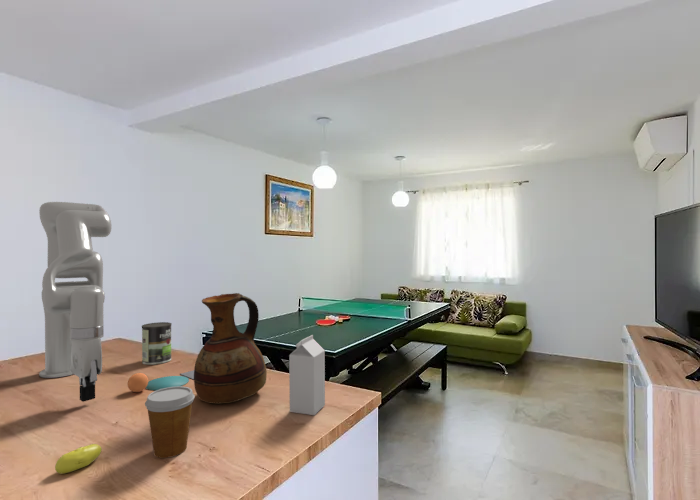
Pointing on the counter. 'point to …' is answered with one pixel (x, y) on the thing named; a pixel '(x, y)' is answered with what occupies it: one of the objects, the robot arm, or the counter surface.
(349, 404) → the counter surface
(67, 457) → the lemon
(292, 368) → the milk carton
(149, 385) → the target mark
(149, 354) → the coffee can
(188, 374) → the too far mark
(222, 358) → the ceramic pitcher
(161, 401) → the disposable coffee cup
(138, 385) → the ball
